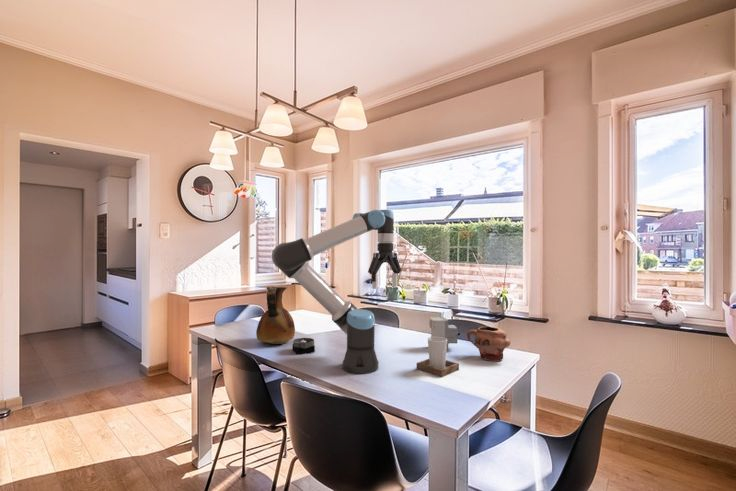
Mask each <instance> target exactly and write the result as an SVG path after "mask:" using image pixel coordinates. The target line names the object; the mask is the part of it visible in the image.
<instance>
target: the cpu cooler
mask: <svg viewBox="0 0 736 491" xmlns="http://www.w3.org/2000/svg"><path fill="white" fill-rule="evenodd" d="M292 342H293V343H292V350H291V351H292V352H293V351H294V352H295V353H296V354H295V353H294V352H293V353H294V354H295V355H298V354H299V355H306V354H312V353H311V352H313V353H315V351H316V345H315V339H314V338H312V337H299V338H295V339H294V338H293V341H292ZM305 353H306V354H305Z"/></svg>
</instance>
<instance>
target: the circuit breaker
mask: <svg viewBox="0 0 736 491" xmlns="http://www.w3.org/2000/svg"><path fill="white" fill-rule="evenodd" d="M428 325H429V328H430V337H443V338H446V339H447V349H446V352H449V344H458V336H461V333H460V332H459V331H458V327H457V326H456V325H454V324H449V320H448V319H447V317H437V316H436V317H435V316H433V317H431V316H430V317H429V324H428Z"/></svg>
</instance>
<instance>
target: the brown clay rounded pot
mask: <svg viewBox="0 0 736 491" xmlns="http://www.w3.org/2000/svg"><path fill="white" fill-rule="evenodd" d="M471 335H475V337H474V341H472V339H471ZM507 336H508V335H507V333H506V332H505V331H504V330H502V329H501V328H499V327H493V326H480V327H478V328H477V329H469V330H468V331H467V333H466V337H467V340H468V341H469V342H470V343H471V344H472V345H473V346H475V348H477V349H478V351H479V357H480V358H481V359H482V360H486V361H492V362H501V361H502V360H503V359H504V350H505V349H506V348H508V347H510V345H511V341H510V339H508V337H507Z"/></svg>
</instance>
